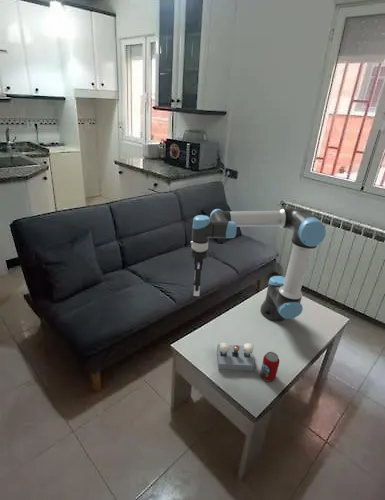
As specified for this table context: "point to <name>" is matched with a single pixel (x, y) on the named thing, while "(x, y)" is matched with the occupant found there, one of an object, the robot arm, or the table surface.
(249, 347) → the knob
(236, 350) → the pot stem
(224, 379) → the table surface
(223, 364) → the mount
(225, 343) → the knob
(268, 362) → the beverage can
